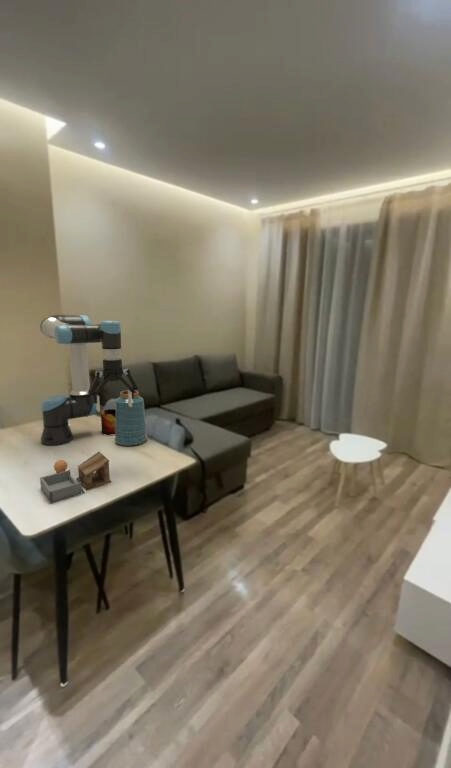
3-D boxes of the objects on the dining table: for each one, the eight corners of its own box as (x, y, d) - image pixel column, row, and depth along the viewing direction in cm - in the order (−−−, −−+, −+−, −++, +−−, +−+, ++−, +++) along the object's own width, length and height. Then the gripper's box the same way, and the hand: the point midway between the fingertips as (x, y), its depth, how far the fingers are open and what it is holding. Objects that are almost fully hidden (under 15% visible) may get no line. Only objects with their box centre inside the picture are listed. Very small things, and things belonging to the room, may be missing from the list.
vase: (121, 435, 190) (118, 388, 185) (150, 436, 190) (149, 388, 184) (110, 446, 174) (107, 395, 169) (142, 447, 174) (140, 396, 168)
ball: (52, 471, 142) (51, 459, 141) (65, 467, 145) (64, 456, 144) (56, 475, 138) (55, 464, 137) (69, 472, 142) (68, 460, 141)
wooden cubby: (76, 479, 140) (75, 456, 138) (101, 472, 147) (99, 450, 144) (86, 490, 132) (84, 466, 130) (111, 482, 138) (110, 459, 136)
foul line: (71, 479, 140) (71, 479, 140) (73, 478, 141) (73, 478, 141) (83, 493, 130) (83, 493, 130) (85, 492, 130) (85, 492, 130)
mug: (129, 432, 195) (128, 412, 192) (103, 436, 188) (102, 415, 185) (124, 427, 203) (124, 407, 200) (100, 430, 196) (99, 410, 194)
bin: (41, 488, 133) (40, 477, 132) (70, 479, 140) (69, 469, 139) (50, 503, 123) (49, 492, 122) (81, 493, 130) (80, 482, 129)
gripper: (82, 362, 132) (85, 415, 136) (144, 358, 146) (145, 406, 150) (78, 359, 138) (81, 410, 142) (138, 356, 152) (139, 402, 156)
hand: (114, 408), depth 146 cm, fingers open, 13 cm apart
